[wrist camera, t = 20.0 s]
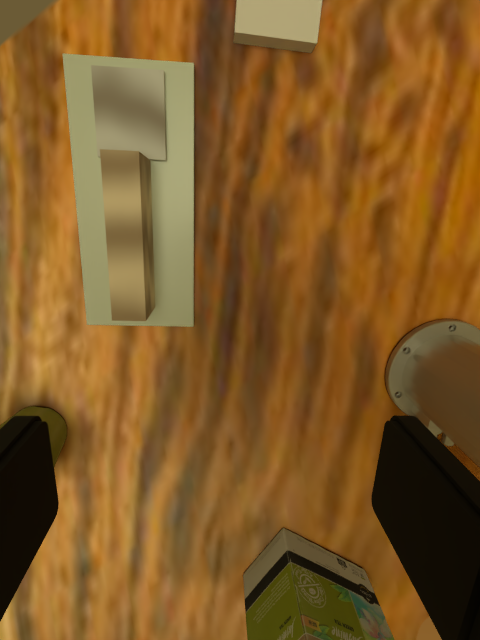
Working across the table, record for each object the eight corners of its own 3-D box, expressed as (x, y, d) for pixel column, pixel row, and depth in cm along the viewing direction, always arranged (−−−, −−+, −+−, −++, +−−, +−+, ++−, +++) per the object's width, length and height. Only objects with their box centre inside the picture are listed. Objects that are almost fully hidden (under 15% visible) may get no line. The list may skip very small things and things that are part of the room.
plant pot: (100, 434, 41) (71, 489, 33) (41, 475, 42) (-2, 539, 34) (41, 376, 39) (-6, 421, 30) (-20, 422, 40) (-82, 477, 32)
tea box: (366, 565, 50) (425, 703, 36) (323, 609, 52) (363, 757, 38) (282, 523, 47) (310, 657, 33) (240, 572, 49) (249, 718, 35)
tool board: (193, 324, 38) (193, 326, 37) (89, 322, 37) (86, 324, 36) (194, 66, 31) (193, 62, 30) (66, 57, 30) (62, 53, 30)
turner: (169, 307, 36) (162, 321, 32) (110, 306, 36) (94, 320, 31) (165, 73, 30) (155, 47, 26) (94, 68, 30) (70, 41, 25)
